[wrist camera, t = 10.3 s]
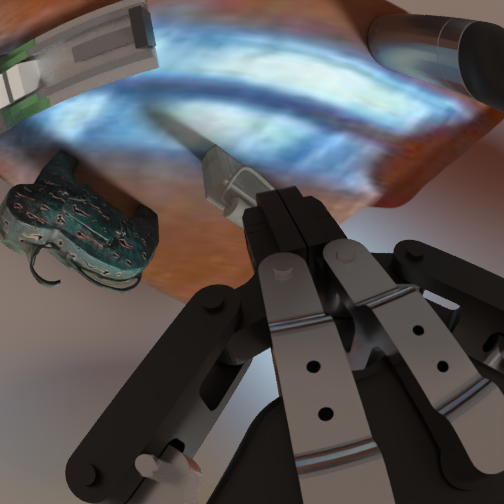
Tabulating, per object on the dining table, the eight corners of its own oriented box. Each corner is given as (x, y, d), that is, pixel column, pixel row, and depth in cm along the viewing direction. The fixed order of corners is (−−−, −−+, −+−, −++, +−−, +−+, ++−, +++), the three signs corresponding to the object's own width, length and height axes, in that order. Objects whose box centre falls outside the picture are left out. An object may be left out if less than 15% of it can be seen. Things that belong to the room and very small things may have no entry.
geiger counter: (198, 221, 29) (340, 308, 42) (242, 173, 27) (374, 281, 40) (194, 165, 39) (310, 249, 53) (225, 130, 37) (336, 225, 51)
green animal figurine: (39, 168, 34) (-31, 258, 19) (59, 131, 32) (-20, 208, 16) (145, 236, 45) (134, 346, 30) (170, 207, 43) (166, 315, 27)
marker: (35, 59, 23) (16, 63, 20) (42, 87, 26) (24, 95, 22) (12, 73, 23) (-9, 79, 19) (19, 99, 26) (-1, 109, 22)
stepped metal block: (149, 13, 24) (140, 5, 19) (156, 45, 27) (148, 45, 22) (75, 39, 23) (51, 39, 18) (82, 70, 26) (60, 77, 21)
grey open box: (145, -4, 24) (137, -14, 19) (159, 67, 30) (153, 70, 25) (6, 57, 22) (-20, 63, 17) (23, 119, 29) (0, 134, 24)
